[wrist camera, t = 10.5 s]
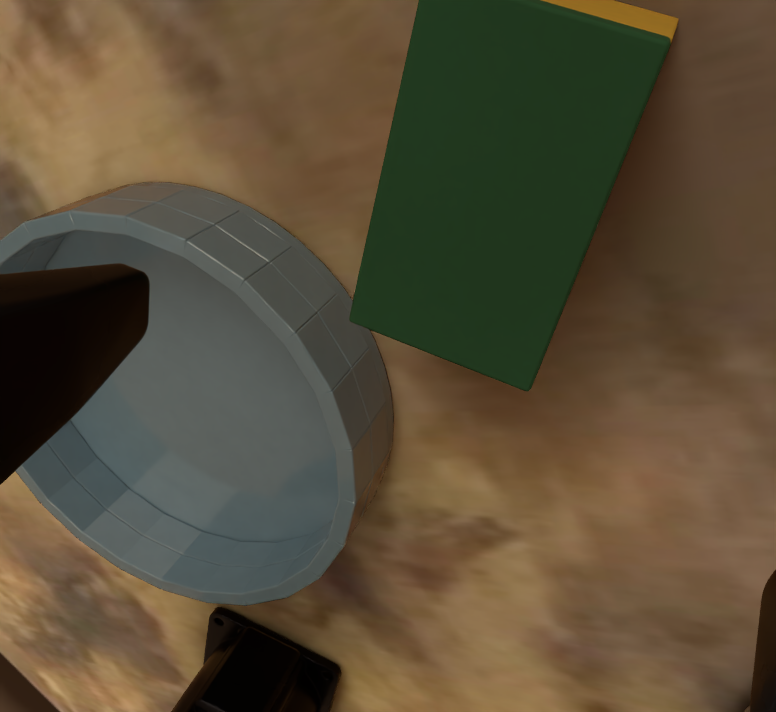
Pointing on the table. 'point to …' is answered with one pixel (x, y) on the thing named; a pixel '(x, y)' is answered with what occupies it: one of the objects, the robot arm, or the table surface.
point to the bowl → (213, 400)
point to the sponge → (501, 172)
